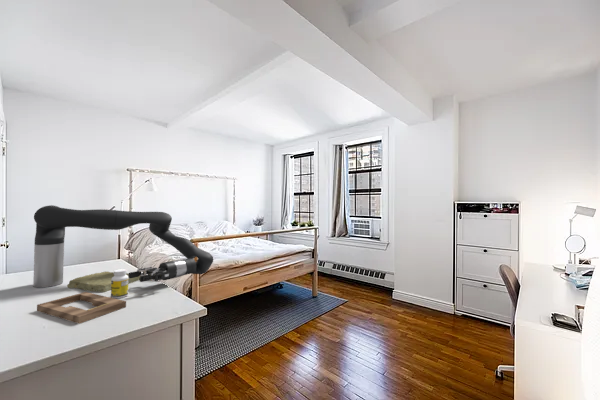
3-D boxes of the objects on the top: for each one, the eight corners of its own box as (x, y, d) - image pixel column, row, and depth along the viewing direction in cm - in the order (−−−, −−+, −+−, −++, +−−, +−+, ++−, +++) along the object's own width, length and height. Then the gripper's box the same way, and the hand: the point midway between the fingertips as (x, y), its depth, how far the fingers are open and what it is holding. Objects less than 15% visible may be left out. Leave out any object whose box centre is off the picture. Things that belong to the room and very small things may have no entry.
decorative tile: (104, 277, 128) (104, 270, 128) (140, 280, 124) (141, 273, 124) (62, 289, 110) (62, 280, 110) (103, 293, 106) (103, 284, 106)
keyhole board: (36, 311, 87) (37, 304, 87) (85, 297, 100) (85, 291, 100) (79, 323, 79) (79, 316, 79) (125, 307, 92) (126, 300, 92)
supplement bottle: (107, 297, 100) (108, 271, 101) (121, 293, 106) (122, 267, 106) (117, 299, 99) (118, 272, 99) (131, 295, 104) (132, 269, 104)
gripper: (163, 259, 124) (125, 265, 110) (182, 263, 116) (144, 270, 103) (163, 275, 124) (124, 283, 110) (182, 280, 116) (143, 290, 103)
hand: (134, 277), depth 106 cm, fingers open, 8 cm apart
